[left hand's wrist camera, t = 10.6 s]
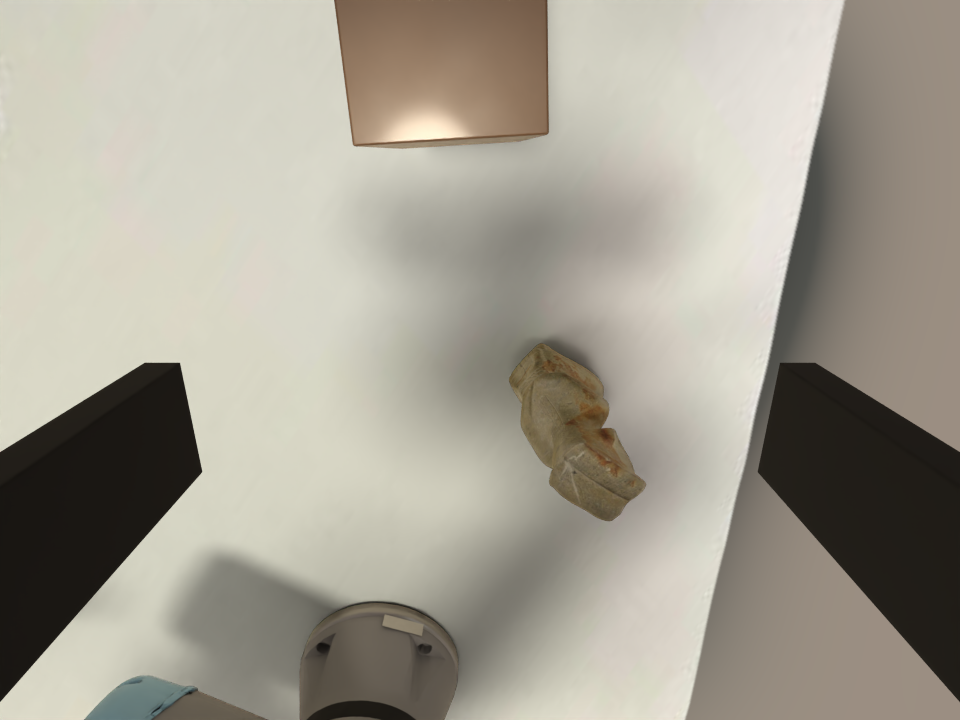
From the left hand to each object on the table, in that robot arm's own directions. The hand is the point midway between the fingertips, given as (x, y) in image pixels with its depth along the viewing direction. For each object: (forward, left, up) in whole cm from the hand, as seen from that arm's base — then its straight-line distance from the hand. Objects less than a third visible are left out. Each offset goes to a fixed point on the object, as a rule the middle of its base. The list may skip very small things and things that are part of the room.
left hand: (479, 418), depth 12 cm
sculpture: (-11, -6, -30) cm, 32 cm away
